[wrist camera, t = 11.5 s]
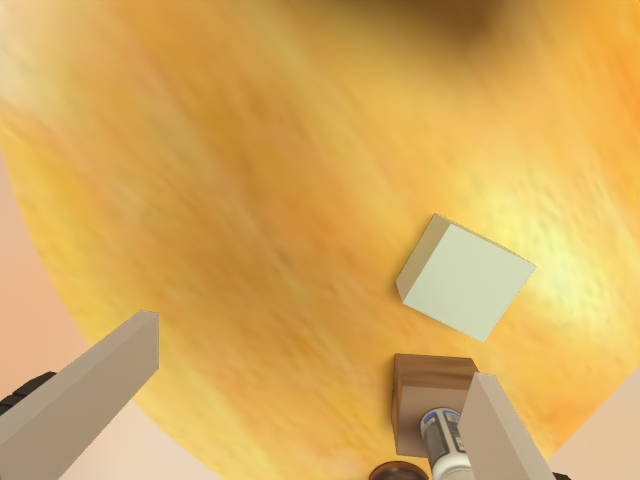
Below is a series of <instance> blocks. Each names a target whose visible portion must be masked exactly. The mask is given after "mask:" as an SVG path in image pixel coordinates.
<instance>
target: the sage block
mask: <svg viewBox="0 0 640 480" xmlns="http://www.w3.org/2000/svg"><path fill="white" fill-rule="evenodd" d="M536 267H537V266H535V265H534V264H532V263H530V262H529V261H527V260H525V259H524V258H522V257H520V256H519V255H517V254H516V253H514V252H512V251H511V250H509V249H507V248H505V247H503V246H501V245H499V244H497V243H495V242H493V241H491V240H489V239H487V238H485V237H483V236H481V235H479V234H477V233H475V232H473V231H471V230H469V229H467V228H465V227H463V226H461V225H459V224H457V223H455V222H453V221H451V220H449V219H447V218H445V217H443V216H441V215H439V214H437V213H435V215H434V216H433V218H432V220H431V221H430V223H429V225H428V226H427V228H426V230H425V232H424V233H423V235H422V237H421V238H420V240H419V242H418V243H417V245H416V247H415V249H414V250H413V252H412V254H411V255H410V257H409V259H408V260H407V262H406V264H405V266H404V267H403V269H402V271H401V272H400V274H399V276H398V277H397V279H396V281H395V282H396V285H397V288H398V291H399V294H400V297H401V300H402V303H403V304H405V305H407V306H409V307H411V308H413V309H415V310H417V311H419V312H421V313H424V314H426V315H428V316H430V317H432V318H434V319H436V320H438V321H440V322H442V323H444V324H446V325H448V326H450V327H452V328H454V329H456V330H458V331H460V332H462V333H464V334H466V335H468V336H470V337H472V338H474V339H476V340H479V341H481V342H484V340H485V339H486V338H487V336H488V335H489V333H490V332H491V331H492V329H493V328H494V326H495V325H496V324H497V322H498V321H499V319H500V318H501V317H502V315H503V314H504V312H505V311H506V310H507V308H508V307H509V305H510V304H511V302H512V301H513V300H514V298H515V297H516V295H517V294H518V293H519V291H520V290H521V288H522V287H523V286H524V284H525V283H526V281H527V280H528V279H529V277H530V276H531V274H532V273H533V272H534V270H535V269H536Z"/></svg>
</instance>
